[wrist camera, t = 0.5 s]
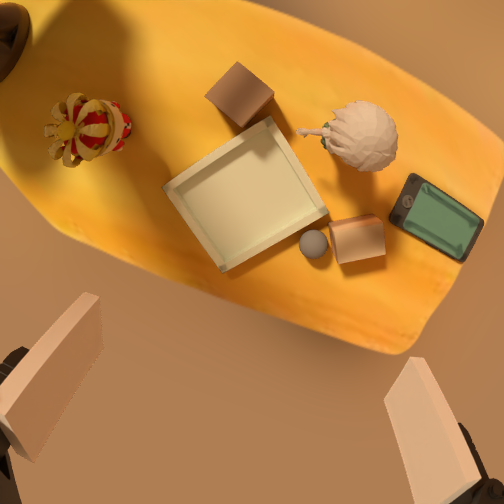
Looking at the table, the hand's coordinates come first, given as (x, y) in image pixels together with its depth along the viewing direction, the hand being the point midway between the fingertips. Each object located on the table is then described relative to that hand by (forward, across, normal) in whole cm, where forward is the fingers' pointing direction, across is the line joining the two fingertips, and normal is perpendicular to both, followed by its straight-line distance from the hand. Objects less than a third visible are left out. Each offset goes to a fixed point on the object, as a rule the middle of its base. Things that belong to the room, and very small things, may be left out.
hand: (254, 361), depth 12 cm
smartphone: (+28, +24, +4) cm, 37 cm away
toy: (+28, -19, +6) cm, 34 cm away
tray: (+28, -2, 0) cm, 28 cm away
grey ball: (+28, +7, -3) cm, 29 cm away
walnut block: (+28, -5, +12) cm, 30 cm away
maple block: (+28, +12, -1) cm, 30 cm away
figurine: (+28, +6, +10) cm, 30 cm away
